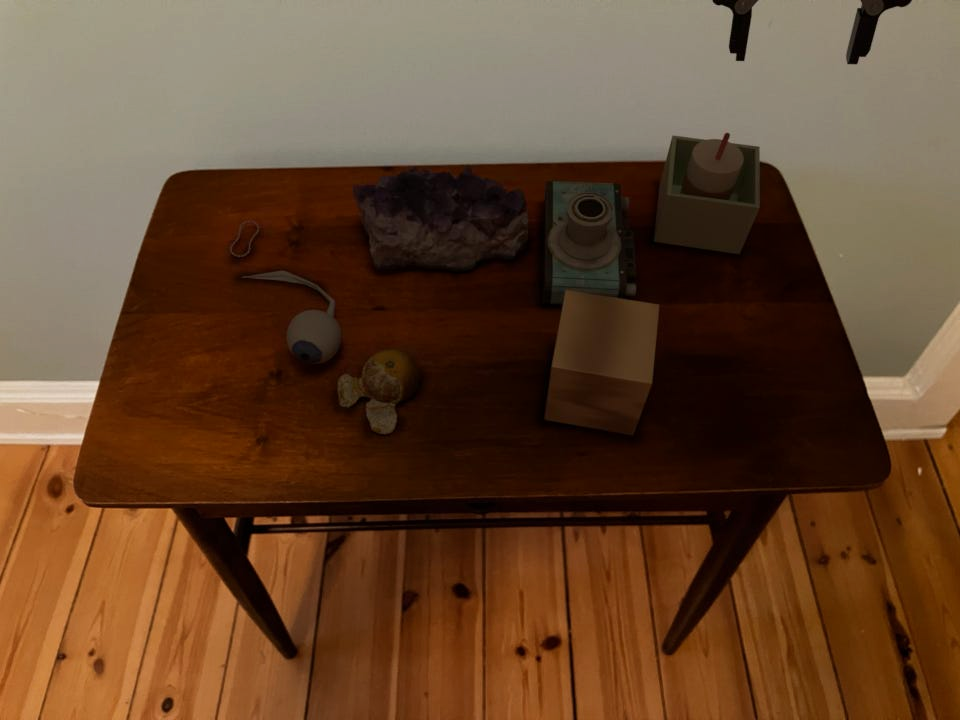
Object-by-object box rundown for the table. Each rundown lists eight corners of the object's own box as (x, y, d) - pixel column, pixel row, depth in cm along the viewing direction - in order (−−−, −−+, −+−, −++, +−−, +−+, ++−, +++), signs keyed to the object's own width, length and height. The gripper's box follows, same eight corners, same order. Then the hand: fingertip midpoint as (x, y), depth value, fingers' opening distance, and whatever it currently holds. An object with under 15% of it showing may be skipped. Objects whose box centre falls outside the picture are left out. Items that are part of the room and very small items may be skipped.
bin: (740, 194, 92) (759, 146, 85) (739, 254, 86) (759, 207, 80) (659, 183, 93) (672, 135, 87) (653, 241, 88) (666, 194, 81)
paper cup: (723, 200, 90) (755, 112, 80) (721, 234, 87) (755, 147, 76) (676, 193, 91) (702, 105, 80) (673, 227, 88) (699, 140, 77)
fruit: (327, 393, 76) (321, 375, 73) (385, 344, 80) (381, 324, 77) (383, 441, 73) (379, 423, 70) (441, 387, 77) (439, 368, 74)
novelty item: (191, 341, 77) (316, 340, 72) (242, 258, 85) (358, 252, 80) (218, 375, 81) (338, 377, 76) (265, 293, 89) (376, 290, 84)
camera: (549, 141, 83) (638, 144, 83) (544, 202, 91) (625, 205, 91) (548, 251, 74) (648, 255, 74) (542, 308, 82) (632, 312, 82)
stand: (641, 361, 78) (659, 304, 70) (633, 435, 74) (652, 383, 65) (557, 347, 79) (565, 289, 71) (543, 420, 75) (551, 366, 66)
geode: (525, 200, 92) (533, 144, 82) (529, 280, 87) (538, 230, 78) (360, 199, 91) (350, 142, 82) (354, 279, 86) (343, 229, 77)
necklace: (226, 255, 87) (225, 252, 86) (244, 220, 89) (243, 217, 88) (246, 259, 86) (245, 257, 86) (263, 224, 89) (262, 222, 88)
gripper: (732, -172, 49) (702, 74, 60) (975, -184, 45) (896, 80, 56) (735, -186, 54) (707, 42, 65) (953, -199, 51) (885, 45, 61)
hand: (794, 59), depth 60 cm, fingers open, 8 cm apart
